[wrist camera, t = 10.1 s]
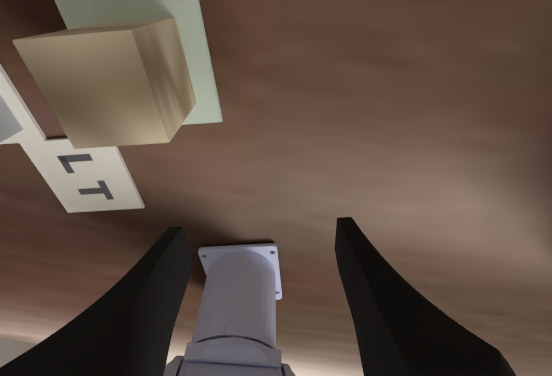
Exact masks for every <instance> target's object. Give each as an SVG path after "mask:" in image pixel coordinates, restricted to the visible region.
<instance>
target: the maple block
mask: <svg viewBox="0 0 552 376" xmlns="http://www.w3.org/2000/svg"><path fill="white" fill-rule="evenodd" d="M12 42H13V43H14V45H15V47H16V49H17V50H18V52H19V54H20V56H21V57H22V59H23V61H24V63H25V64H26V66H27V68H28V69H29V71H30V73H31V75H32V76H33V78H34V80H35V82H36V83H37V85H38V87H39V89H40V90H41V92H42V94H43V95H44V97H45V99H46V101H47V102H48V104H49V106H50V108H51V109H52V111H53V113H54V115H55V116H56V118H57V120H58V121H59V123H60V125H61V127H62V128H63V130H64V132H65V134H66V135H67V137H68V139H69V141H70V142H71V144H72V146H73V147H74V149H84V148H98V147H112V146H126V145H140V144H153V143H167V142H170V141H171V139H172V138H173V136H174V135H175V134H176V132H177V131H178V129H179V128H180V126H181V125H182V123H183V122H184V120H185V119H186V118H187V116H188V115H189V113H190V112H191V110H192V109H193V107H194V106H195V104H196V103H197V102H196V98H195V94H194V90H193V86H192V82H191V78H190V74H189V70H188V66H187V62H186V58H185V54H184V50H183V46H182V42H181V38H180V34H179V30H178V26H177V22H176V18H175V17H172V18H161V19H150V20H139V21H128V22H117V23H106V24H95V25H88V26H83V27H78V28H72V29H67V30H62V31H57V32H52V33H46V34H41V35H36V36H31V37H26V38H20V39H15V40H12Z"/></svg>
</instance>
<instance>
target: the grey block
mask: <svg viewBox="0 0 552 376" xmlns="http://www.w3.org/2000/svg"><path fill="white" fill-rule="evenodd" d="M22 130H23V128H22V127H21V125H20V124H19V122H18V121H17V119H16V118H15V116H14V115H13V113H12V112H11V110H10V109H9V107H8V106H7V104H6V103H5V101H4V100H3V98H2V97H1V95H0V142H2V141H4V140H6V139H8V138H9V137H11V136H13V135H15V134H17V133H18V132H20V131H22Z"/></svg>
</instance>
